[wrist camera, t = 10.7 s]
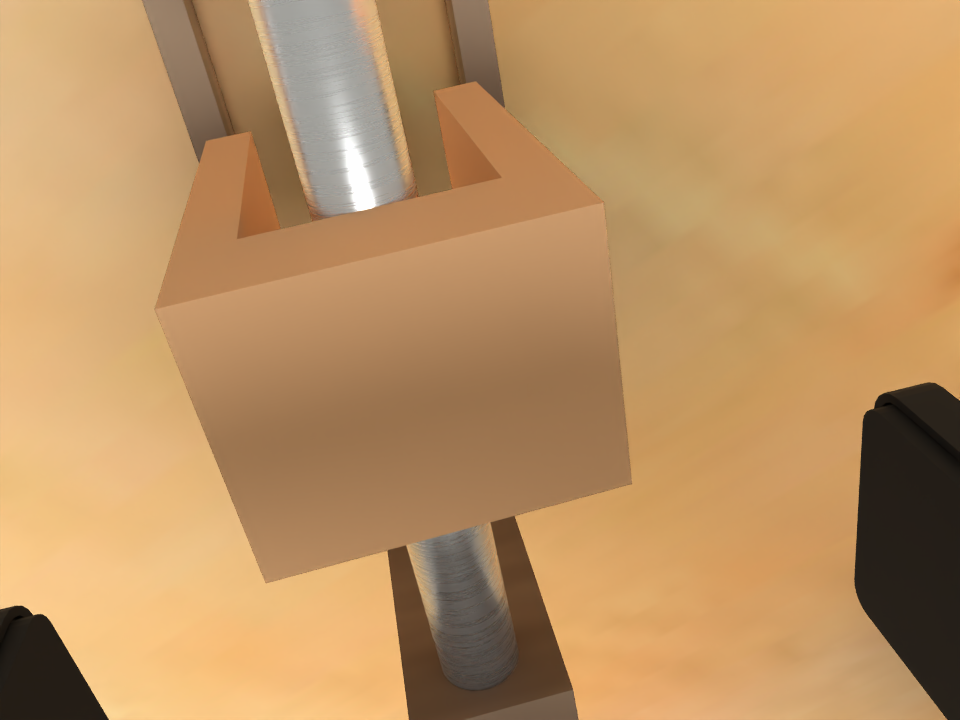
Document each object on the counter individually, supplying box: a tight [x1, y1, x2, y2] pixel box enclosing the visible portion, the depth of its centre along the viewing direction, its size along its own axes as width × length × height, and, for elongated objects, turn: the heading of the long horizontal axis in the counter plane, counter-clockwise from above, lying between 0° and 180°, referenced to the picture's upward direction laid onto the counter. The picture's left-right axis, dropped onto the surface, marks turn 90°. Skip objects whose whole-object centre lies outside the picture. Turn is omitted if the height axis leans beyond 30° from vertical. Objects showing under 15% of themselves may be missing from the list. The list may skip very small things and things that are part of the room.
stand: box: [142, 0, 578, 720], centre depth 20 cm, size 23×9×14 cm, turn 10°
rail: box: [248, 0, 519, 691], centre depth 15 cm, size 21×2×2 cm, turn 10°
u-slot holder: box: [155, 81, 632, 583], centre depth 17 cm, size 5×6×9 cm
